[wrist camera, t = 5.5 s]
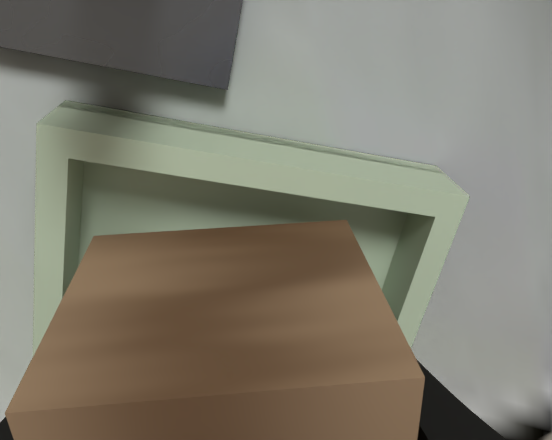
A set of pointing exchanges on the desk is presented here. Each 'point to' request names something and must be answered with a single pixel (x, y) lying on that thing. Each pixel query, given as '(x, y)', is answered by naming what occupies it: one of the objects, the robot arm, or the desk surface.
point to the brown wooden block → (222, 342)
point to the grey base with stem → (130, 35)
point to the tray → (230, 197)
